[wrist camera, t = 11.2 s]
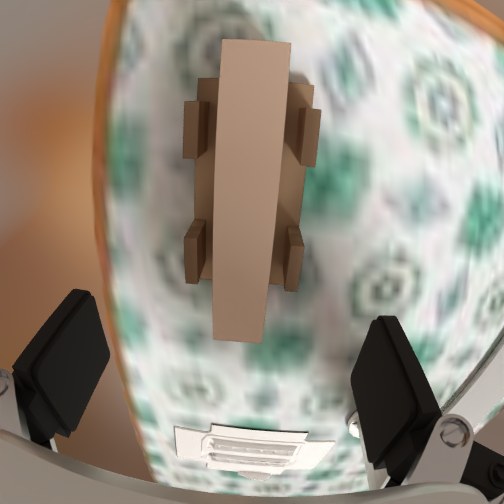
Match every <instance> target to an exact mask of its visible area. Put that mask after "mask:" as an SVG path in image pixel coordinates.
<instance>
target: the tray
mask: <svg viewBox="0 0 504 504" xmlns="http://www.w3.org/2000/svg"><path fill="white" fill-rule="evenodd" d="M308 433H309V432H308ZM308 433H287V432H270V431H258V430H247V429H238V428H230V427H222V426H215V425H211V431H209V432H205V431H199V430H193V429H188V428H183V427H177V426H175V436H176V447H177V457H180V458H186V459H191V460H197V461H203V462H206V463H207V468H212V469H219V470H227V471H237V472H238V474H239V475H241V476H244V477H245V478H248V479H253V480H254V479H256V480H257V481H260V480H263V481H266V480H268V478H269V477H270V474H272V475H273V474H281V473H282V471H283V470H285V469H313V468H314V467H315V466H316V465H317V464H318V462H319V461H320V460H321V459H322V458H323V457H324V456H325V454H326V453H327V452H328V451H329V450H330V448H331V447H332V446H333V445H334V443H335V441H307V440H305V438H306V436H307V434H308ZM209 453H213V455H210V454H209ZM215 455H216V456H215ZM287 459H289V462H287ZM246 472H247V473H246ZM259 473H260V474H259ZM250 476H251V477H250ZM268 476H269V477H268ZM270 478H271V477H270Z"/></svg>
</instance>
